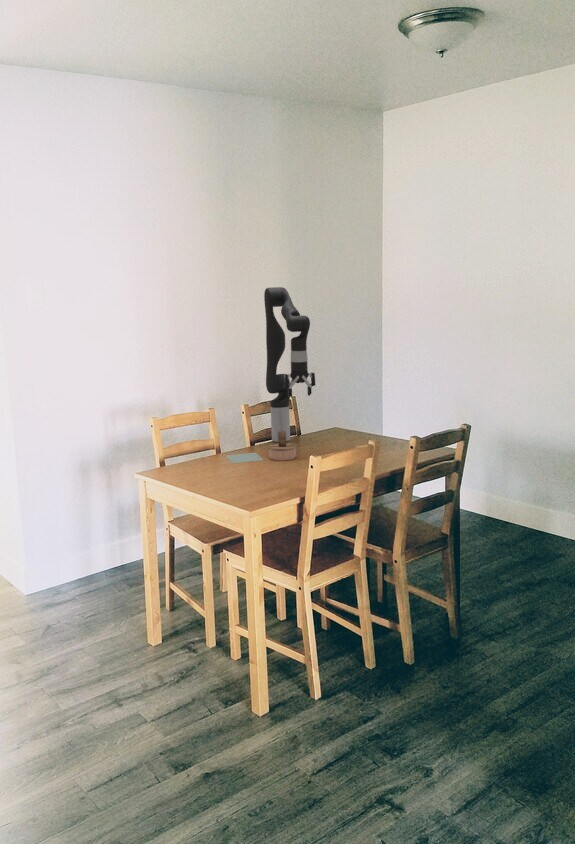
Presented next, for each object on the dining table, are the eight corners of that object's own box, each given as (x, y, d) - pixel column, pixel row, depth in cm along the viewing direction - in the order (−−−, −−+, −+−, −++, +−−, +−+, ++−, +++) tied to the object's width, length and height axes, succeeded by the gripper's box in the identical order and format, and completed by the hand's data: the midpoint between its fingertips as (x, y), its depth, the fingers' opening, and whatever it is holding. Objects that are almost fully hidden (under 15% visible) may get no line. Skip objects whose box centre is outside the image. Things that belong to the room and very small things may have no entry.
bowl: (267, 457, 320) (267, 446, 319) (291, 454, 323) (291, 444, 322) (273, 462, 309) (273, 451, 308) (298, 460, 312) (298, 449, 311)
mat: (225, 456, 324) (225, 455, 324) (255, 453, 328) (255, 452, 328) (232, 464, 309) (232, 463, 309) (263, 461, 313) (263, 459, 313)
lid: (266, 446, 319) (265, 430, 318) (291, 443, 322) (291, 428, 321) (272, 451, 308) (272, 435, 307) (299, 449, 311) (298, 433, 310)
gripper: (311, 358, 326) (312, 393, 329) (281, 360, 323) (282, 395, 326) (316, 360, 319) (317, 396, 322) (285, 362, 315) (286, 398, 319)
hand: (299, 396), depth 324 cm, fingers open, 8 cm apart
